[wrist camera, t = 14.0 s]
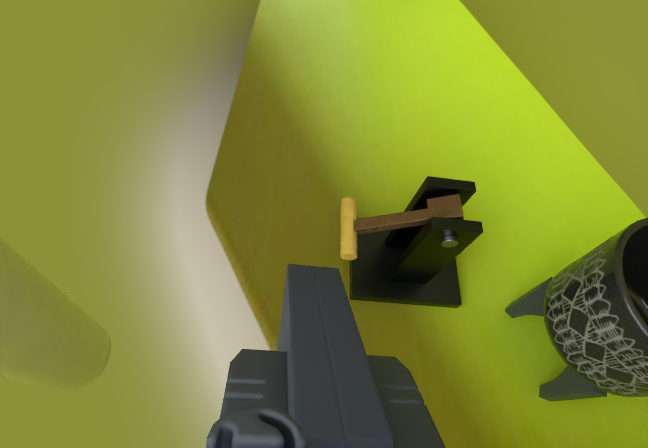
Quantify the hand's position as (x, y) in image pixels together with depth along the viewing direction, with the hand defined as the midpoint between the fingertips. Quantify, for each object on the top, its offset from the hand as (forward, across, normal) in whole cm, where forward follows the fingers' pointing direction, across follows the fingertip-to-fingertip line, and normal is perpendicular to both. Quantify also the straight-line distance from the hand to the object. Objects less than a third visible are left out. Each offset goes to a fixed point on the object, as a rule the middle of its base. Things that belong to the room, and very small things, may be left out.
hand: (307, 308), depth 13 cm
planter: (+26, +30, -16) cm, 43 cm away
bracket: (+32, +14, -11) cm, 36 cm away
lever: (+26, +11, -4) cm, 28 cm away
